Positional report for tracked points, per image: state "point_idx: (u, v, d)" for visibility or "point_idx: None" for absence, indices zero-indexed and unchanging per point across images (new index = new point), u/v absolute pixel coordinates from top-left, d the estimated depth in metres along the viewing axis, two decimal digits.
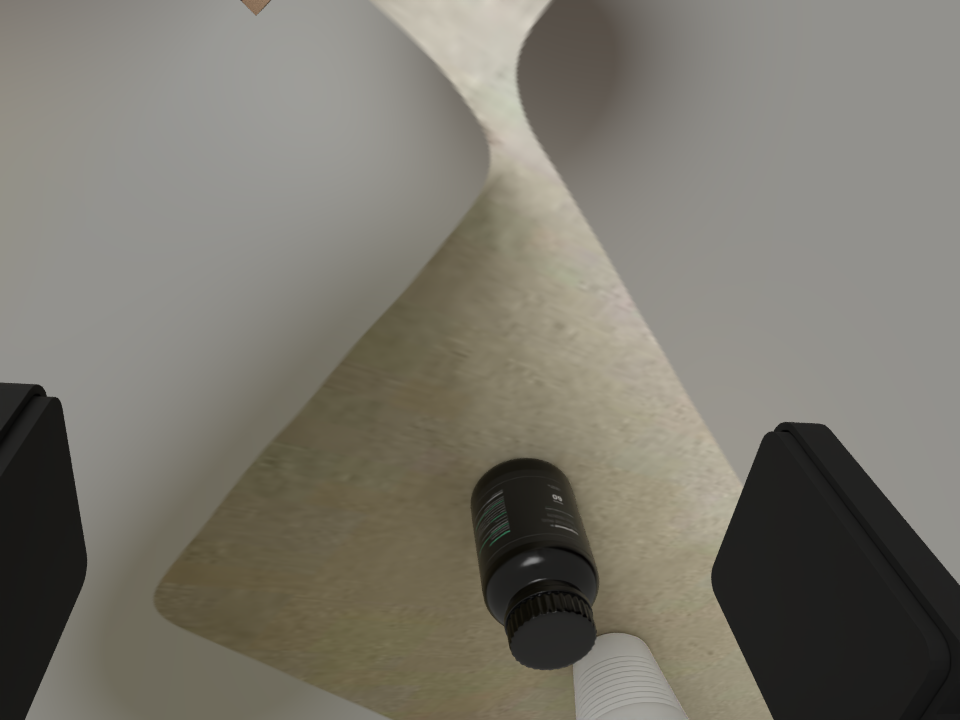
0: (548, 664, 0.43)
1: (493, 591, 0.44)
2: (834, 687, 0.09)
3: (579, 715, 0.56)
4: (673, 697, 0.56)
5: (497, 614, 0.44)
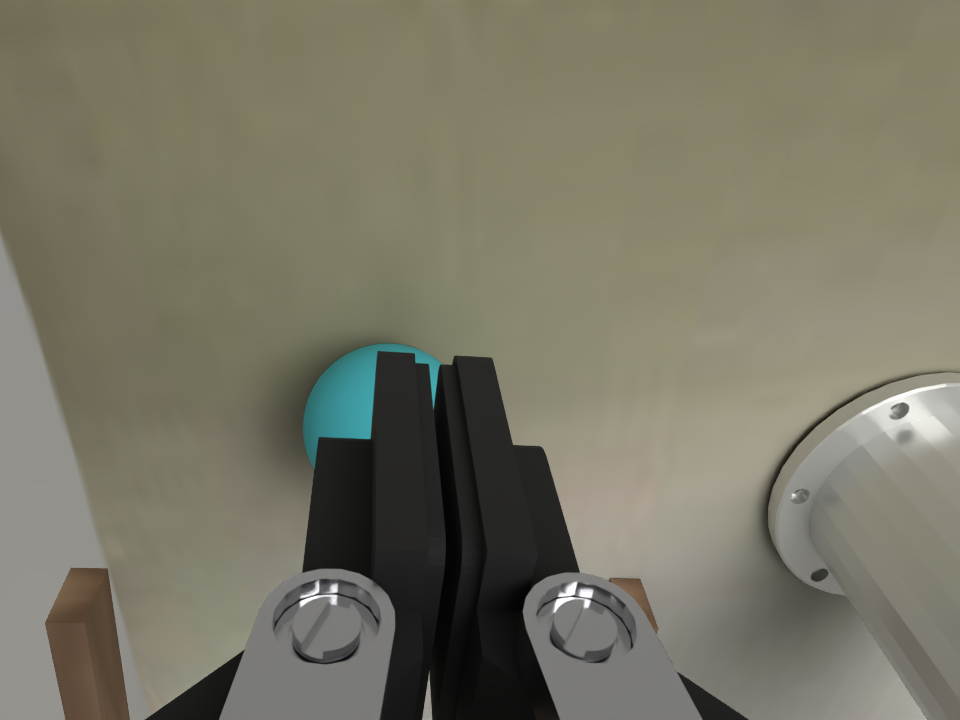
0: None
1: None
2: (441, 597, 0.09)
3: None
4: None
5: None
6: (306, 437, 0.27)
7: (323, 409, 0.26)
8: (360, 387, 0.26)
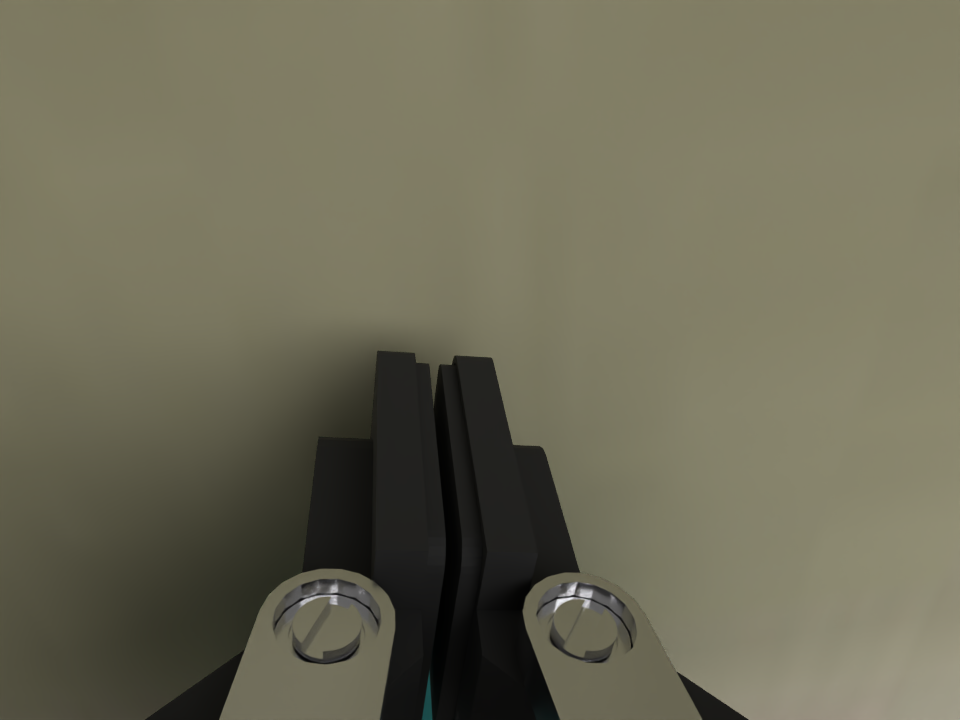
0: None
1: None
2: (441, 597, 0.09)
3: None
4: None
5: None
6: None
7: None
8: None
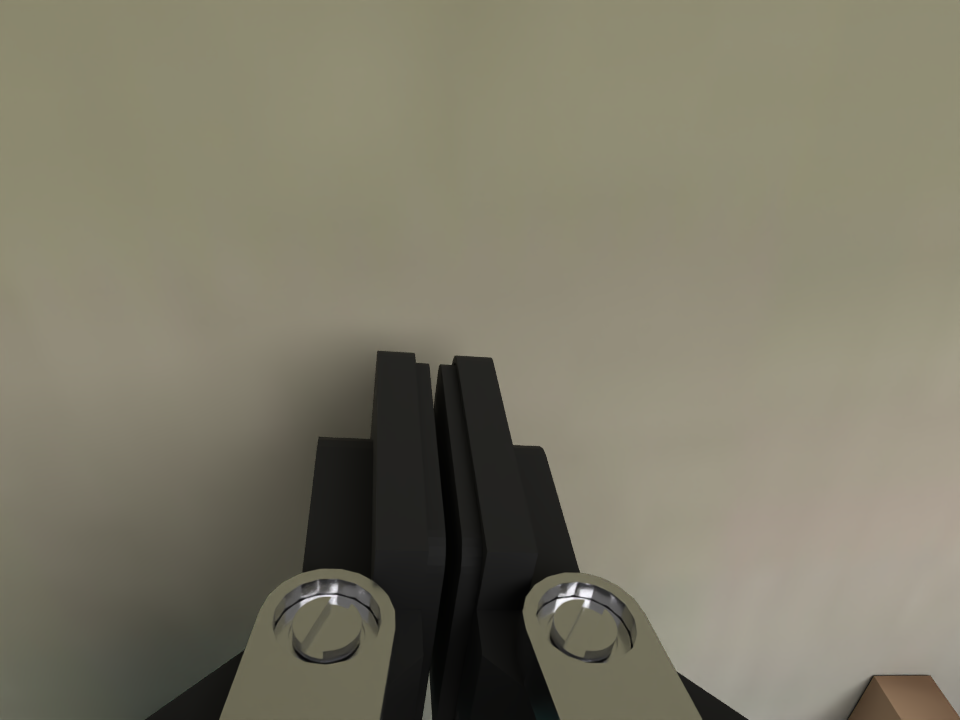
0: None
1: None
2: (441, 598, 0.09)
3: None
4: None
5: None
6: None
7: None
8: None
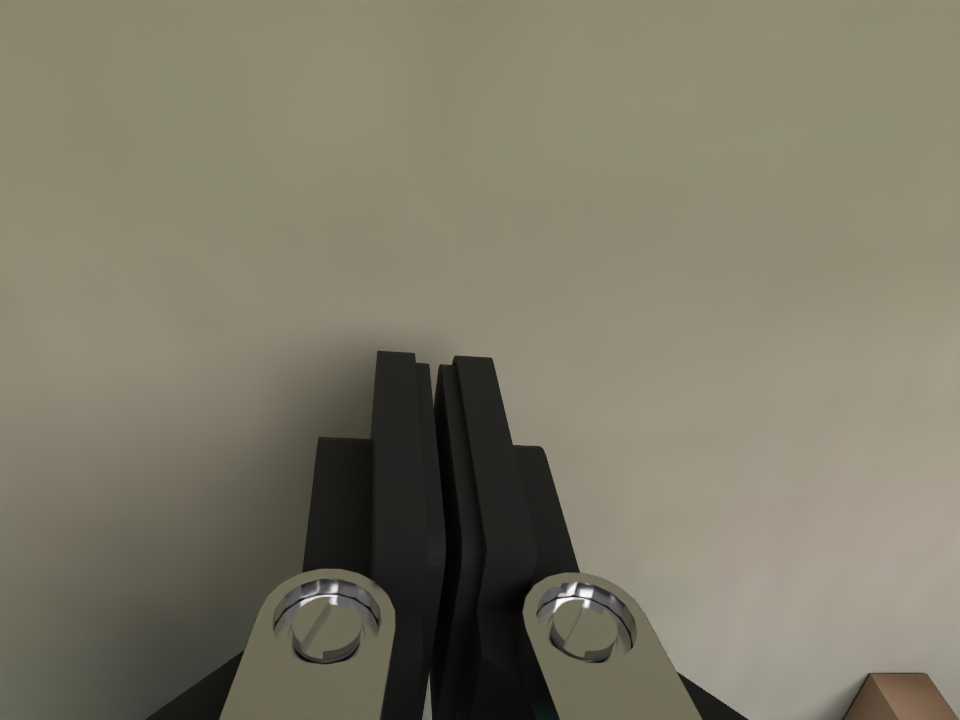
0: None
1: None
2: (441, 597, 0.09)
3: None
4: None
5: None
6: None
7: None
8: None
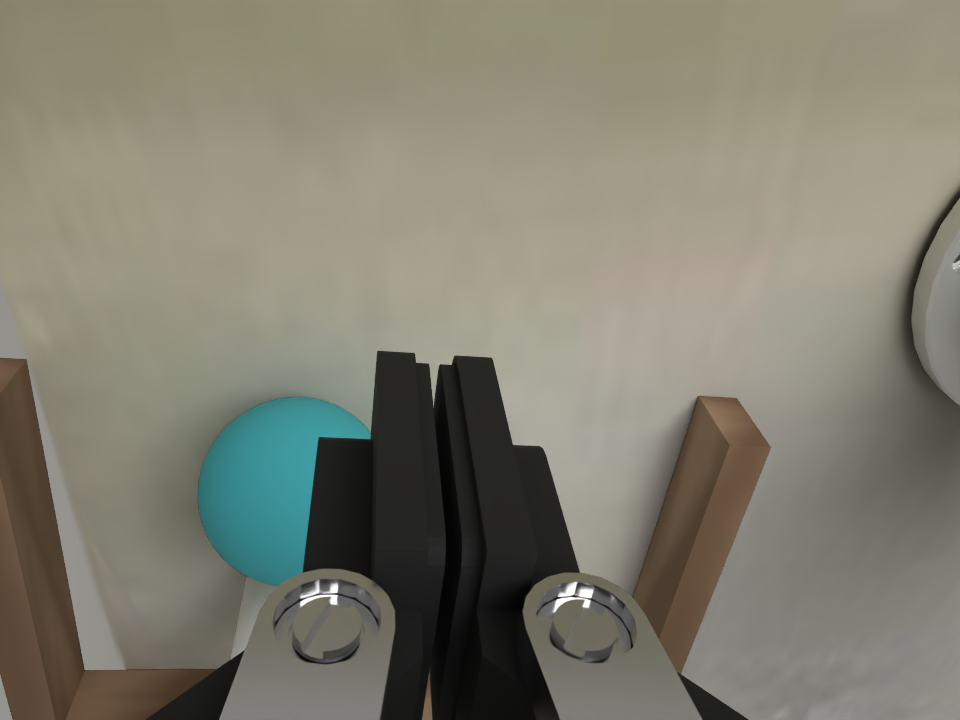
0: None
1: None
2: (441, 597, 0.09)
3: None
4: None
5: None
6: None
7: None
8: None
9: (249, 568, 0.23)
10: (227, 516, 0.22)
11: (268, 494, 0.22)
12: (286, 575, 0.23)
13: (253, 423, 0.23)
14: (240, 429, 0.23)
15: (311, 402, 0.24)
